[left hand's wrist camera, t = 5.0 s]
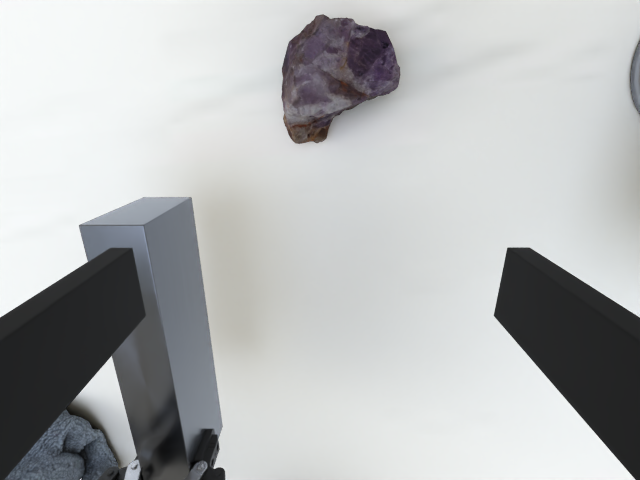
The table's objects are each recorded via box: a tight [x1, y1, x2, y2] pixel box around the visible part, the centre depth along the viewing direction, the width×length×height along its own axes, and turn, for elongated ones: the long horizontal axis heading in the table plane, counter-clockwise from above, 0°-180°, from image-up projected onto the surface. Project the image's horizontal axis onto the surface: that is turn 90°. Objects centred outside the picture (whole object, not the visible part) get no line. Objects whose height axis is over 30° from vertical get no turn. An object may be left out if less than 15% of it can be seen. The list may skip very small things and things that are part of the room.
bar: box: [79, 197, 223, 480], centre depth 32 cm, size 27×4×9 cm, turn 1°
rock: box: [282, 15, 400, 144], centre depth 33 cm, size 12×9×10 cm
